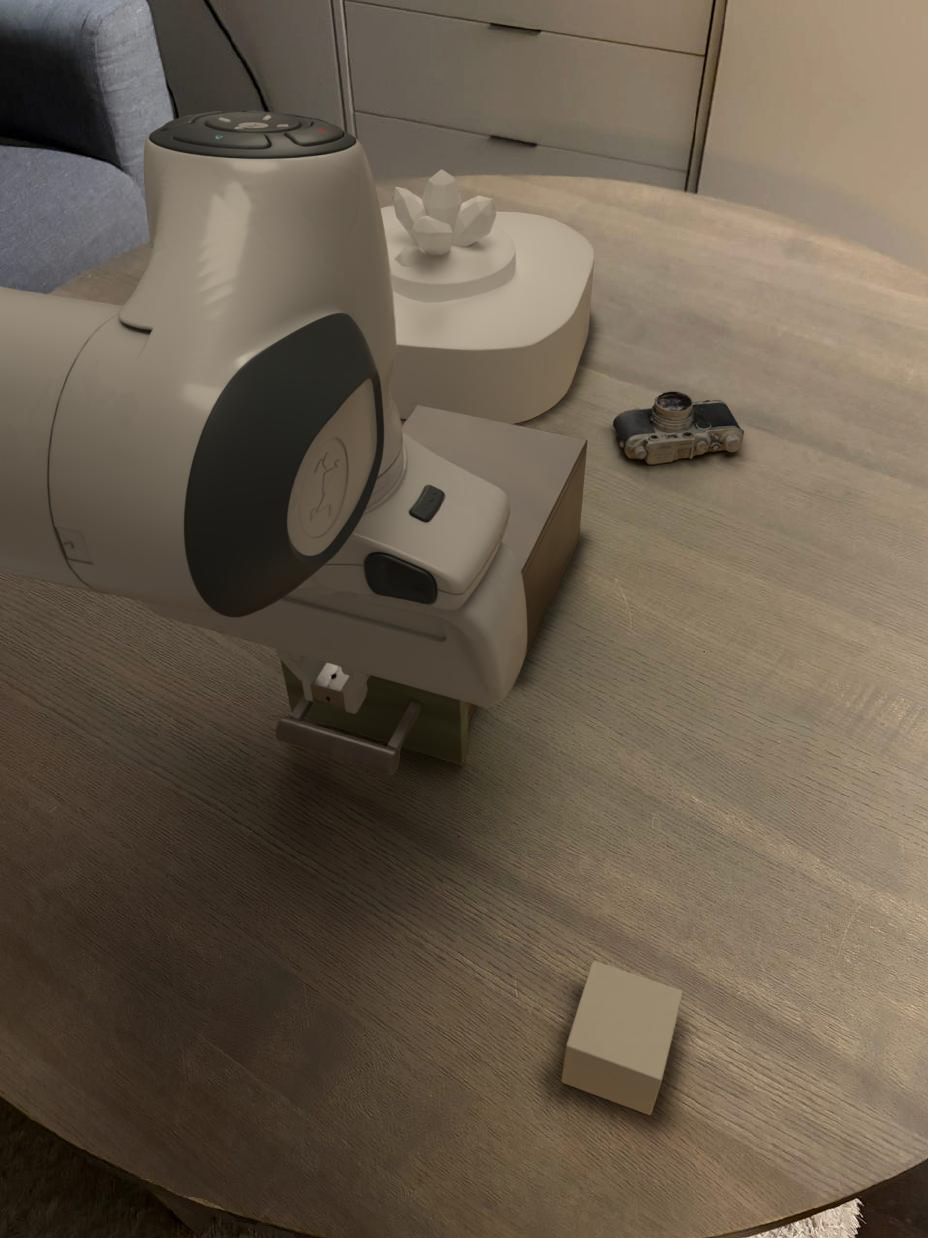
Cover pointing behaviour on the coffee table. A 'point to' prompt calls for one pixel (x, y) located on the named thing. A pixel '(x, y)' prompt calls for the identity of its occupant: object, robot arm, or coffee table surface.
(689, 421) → the camera
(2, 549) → the robot arm
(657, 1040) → the block
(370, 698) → the drawer
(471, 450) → the cabinet
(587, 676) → the coffee table surface
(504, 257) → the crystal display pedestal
